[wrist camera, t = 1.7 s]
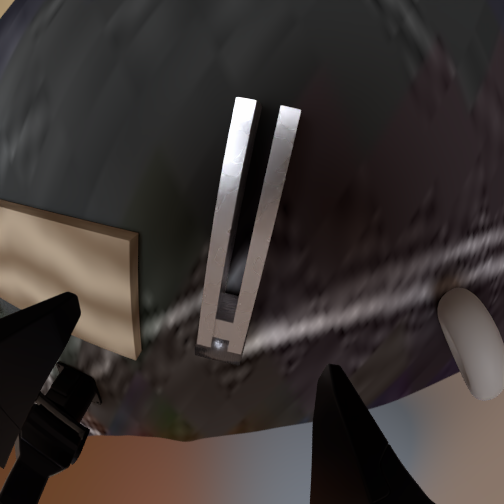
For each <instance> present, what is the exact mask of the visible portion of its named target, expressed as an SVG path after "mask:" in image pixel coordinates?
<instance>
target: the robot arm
mask: <svg viewBox="0 0 504 504" xmlns="http://www.w3.org/2000/svg"><path fill="white" fill-rule="evenodd" d="M80 316H81V309H80V304H79V300H78V296H77V295H76V294H74V293H72V292H64V293H62V294H59V295H57V296H54V297H52V298H49V299H47V300H44V301H42V302H39V303H37V304H34V305H32V306H29V307H27V308H25V309H22V310H20V311H17V312H15V313H12V314H10V315H8V316H5V317H3V318H0V467H2V468H3V469H4V467H5V465H6V463H7V460H8V458H9V455H10V453H11V451H12V448H13V446H14V444H15V451H16V462H15V464H14V466H13V468H12V470H11V471H10V473H9V475H8V477H7V479H6V481H5V483H4V485H3V487H2V490H1V491H0V504H38V502H39V499H40V497H41V494H42V492H43V490H44V487H45V485H46V483H47V480H48V478H49V477H51V476H53V475H56V474H58V473H60V472H61V471H63V470H65V469H66V468H68V467H69V466H70V464H74V463H75V462H76V460H77V458H78V457H79V455H80V453H81V451H82V449H83V446H84V444H85V441H86V439H87V436H88V434H89V431H90V429H88V428H86V427H84V426H83V425H82V424H80V422H81V420H82V418H83V416H84V415H85V413H86V411H87V409H88V407H89V406H90V404H91V402H94V403H97V404H99V405H101V403H102V401H101V399H100V396H99V393H98V390H97V387H96V384H95V381H94V379H93V378H91V377H89V376H87V375H85V374H83V373H80V372H78V371H76V370H74V369H72V368H70V367H68V366H66V365H64V364H62V363H60V362H57V360H58V359H59V357H60V355H61V354H62V352H63V350H64V349H65V347H66V345H67V343H68V341H69V338H70V336H71V334H72V332H73V330H74V328H75V326H76V324H77V322H78V320H79V318H80ZM56 362H57V364H56ZM55 364H56V365H57V368H58V370H59V373H60V374H59V375H58V377H57V378H56V379H55V381H54V382H53V384H52V385H51V388H50V389H49V391H48V392H47V394H46V395H43V394H42V392H41V391H40V390H41V389H42V387H43V385H44V383H45V381H46V380H47V378H48V376H49V374H50V372H51V371H52V369H53V367H54V366H55ZM35 403H37V404H35ZM312 433H313V434H312V436H313V437H312V470H311V491H310V504H435V503H434V502H433V501H431V500H430V499H429V498H428V496H427V495H426V494H425V493H424V492H423V491H422V489H421V488H420V487H419V485H418V484H417V483H416V481H415V480H414V479H413V478H412V476H411V475H410V474H409V473H408V471H407V470H406V469H405V467H404V466H403V464H402V463H401V462H400V460H399V459H398V457H397V455H396V454H395V452H394V451H393V449H392V447H391V446H390V445H389V444H388V441H387V439H386V438H385V436H384V435H383V433H382V431H381V430H380V428H379V427H378V425H377V423H376V422H375V420H374V419H373V417H372V415H371V414H370V412H369V411H368V409H367V407H366V406H365V404H364V403H363V401H362V399H361V398H360V396H359V395H358V393H357V391H356V390H355V388H354V387H353V385H352V383H351V382H350V380H349V379H348V377H347V376H346V374H345V372H344V371H343V369H342V368H341V366H339V365H335V364H328V365H327V366H326V367H325V369H324V371H323V373H322V374H321V376H320V378H319V380H318V384H317V393H316V401H315V409H314V416H313V431H312Z"/></svg>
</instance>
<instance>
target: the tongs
mask: <svg viewBox="0 0 504 504" xmlns="http://www.w3.org/2000/svg"><path fill="white" fill-rule="evenodd" d="M261 110H262V105H261V104H260V103H259V102H258V101H257V100H251V99H246V98H240V97H236V101H235V106H234V110H233V115H232V120H231V125H230V130H229V136H228V141H227V146H226V151H225V157H224V162H223V168H222V173H221V179H220V185H219V191H218V196H217V202H216V209H215V215H214V221H213V227H212V234H211V240H210V247H209V254H208V261H207V268H206V275H205V283H204V290H203V298H202V306H201V314H200V322H199V330H198V335H197V340H196V346H195V355H197V356H201V357H205V358H209V359H213V360H217V361H221V362H225V363H229V364H234V365H238V366H239V365H240V362H241V358H242V354H243V350H244V346H245V341H246V337H247V332H248V328H249V322H250V318H251V314H252V310H253V306H254V302H255V299H256V295H257V291H258V287H259V283H260V279H261V275H262V271H263V267H264V263H265V259H266V255H267V251H268V247H269V243H270V239H271V235H272V231H273V227H274V223H275V219H276V215H277V210H278V206H279V202H280V198H281V194H282V190H283V186H284V181H285V177H286V173H287V169H288V165H289V160H290V156H291V152H292V148H293V143H294V139H295V135H296V130H297V126H298V122H299V117H300V113H301V110H299V109H295V108H291V107H286V106H282V105H281V107H280V111H279V116H278V120H277V125H276V129H275V134H274V138H273V143H272V148H271V152H270V157H269V161H268V166H267V170H266V175H265V179H264V184H263V188H262V193H261V197H260V202H259V207H258V211H257V216H256V220H255V225H254V229H253V234H252V239H251V243H250V248H249V252H248V257H247V262H246V266H245V271H244V275H243V280H242V285H241V289H240V294H239V296H235V295H231V294H227V293H225V290H226V285H227V280H228V274H229V269H230V263H231V258H232V253H233V248H234V242H235V237H236V232H237V227H238V222H239V217H240V211H241V206H242V201H243V196H244V191H245V186H246V181H247V176H248V172H249V167H250V162H251V157H252V152H253V147H254V143H255V138H256V133H257V128H258V124H259V119H260V114H261Z"/></svg>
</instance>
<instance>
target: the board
mask: <svg viewBox="0 0 504 504" xmlns="http://www.w3.org/2000/svg"><path fill="white" fill-rule="evenodd" d="M64 292H72V293H74V294H76V295H77V296H78V300H79V304H80V309H81V316H80V318H79V320H78V322H77V324H76V326H75V328H74V330H73V332H72V334H71V335H73V336H76V337H78V338H80V339H82V340H85V341H87V342H89V343H92V344H94V345H97V346H99V347H102V348H104V349H107V350H109V351H112V352H114V353H117V354H120V355H122V356H125V357H128V358H131V359H133V360H137V358H138V356H139V354H140V352H141V351H142V349H141V337H140V321H139V298H138V233H136V232H131V231H127V230H123V229H119V228H115V227H110V226H106V225H102V224H98V223H94V222H90V221H86V220H81V219H77V218H73V217H69V216H65V215H61V214H57V213H53V212H49V211H45V210H41V209H37V208H32V207H28V206H24V205H20V204H16V203H12V202H8V201H4V200H0V298H2V299H4V300H6V301H7V302H9V303H11V304H12V305H14V306H16V307H18V308H19V309H21V310H22V309H25V308H27V307H29V306H32V305H34V304H37V303H39V302H42V301H44V300H47V299H49V298H52V297H54V296H57V295H59V294H62V293H64Z"/></svg>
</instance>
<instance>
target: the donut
mask: <svg viewBox="0 0 504 504" xmlns="http://www.w3.org/2000/svg"><path fill="white" fill-rule="evenodd" d="M437 310H438V319H439V322H440V325H441V328H442V330H443V333H444V335H445V338H446V340H447V342H448V345H449V347H450V349H451V352H452V354H453V356H454V359H455V361H456V363H457V366H458V368H459V370H460V372H461V374H462V377H463V378H464V381H465V383H466V385H467V387H468V389H469V390H470V392H471V394H472V395H473V396H474V397H475V398H476V399H479V400H491V399H493V398H495V397H497V396H498V395H499V394H500V393H501V392H502V390H503V388H504V343H503V341H502V338H501V336H500V333H499V331H498V329H497V327H496V325H495V323H494V321H493V319H492V317H491V315H490V314H489V312H488V311H487V309H486V308H485V306H484V305H483V303H482V302H481V301H480V300H479V299H478V298H477V297H476V295H474V294H473V293H472V292H470V291H468V290H467V289H464V288H454V289H452V290H450V291H448V292H447V293H446V294H445V295H443V296H442V298H441V300H440V301H439V304H438V308H437Z"/></svg>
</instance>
